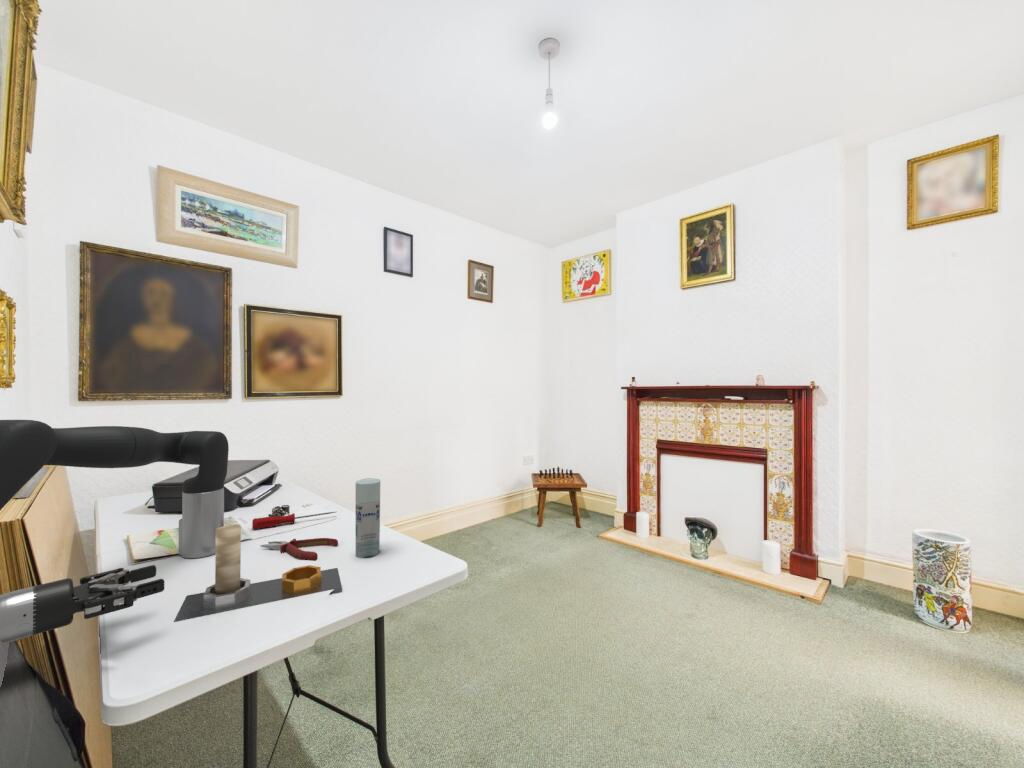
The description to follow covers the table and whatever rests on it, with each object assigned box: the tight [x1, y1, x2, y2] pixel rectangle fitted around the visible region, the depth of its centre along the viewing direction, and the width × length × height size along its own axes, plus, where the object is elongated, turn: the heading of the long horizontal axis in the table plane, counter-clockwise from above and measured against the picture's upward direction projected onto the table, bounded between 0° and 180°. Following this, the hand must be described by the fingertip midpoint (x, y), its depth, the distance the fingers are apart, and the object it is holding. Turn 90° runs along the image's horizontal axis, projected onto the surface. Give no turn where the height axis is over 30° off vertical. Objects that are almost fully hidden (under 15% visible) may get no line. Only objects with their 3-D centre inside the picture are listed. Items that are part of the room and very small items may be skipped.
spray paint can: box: [355, 477, 381, 559], centre depth 114 cm, size 6×6×20 cm
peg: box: [214, 524, 242, 595], centre depth 88 cm, size 4×4×15 cm
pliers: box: [259, 537, 339, 562], centre depth 116 cm, size 12×20×3 cm, turn 79°
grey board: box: [173, 565, 343, 623], centre depth 91 cm, size 30×11×4 cm, turn 118°
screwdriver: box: [251, 511, 337, 530], centre depth 138 cm, size 4×25×4 cm, turn 122°
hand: (159, 577), depth 80 cm, fingers open, 8 cm apart
